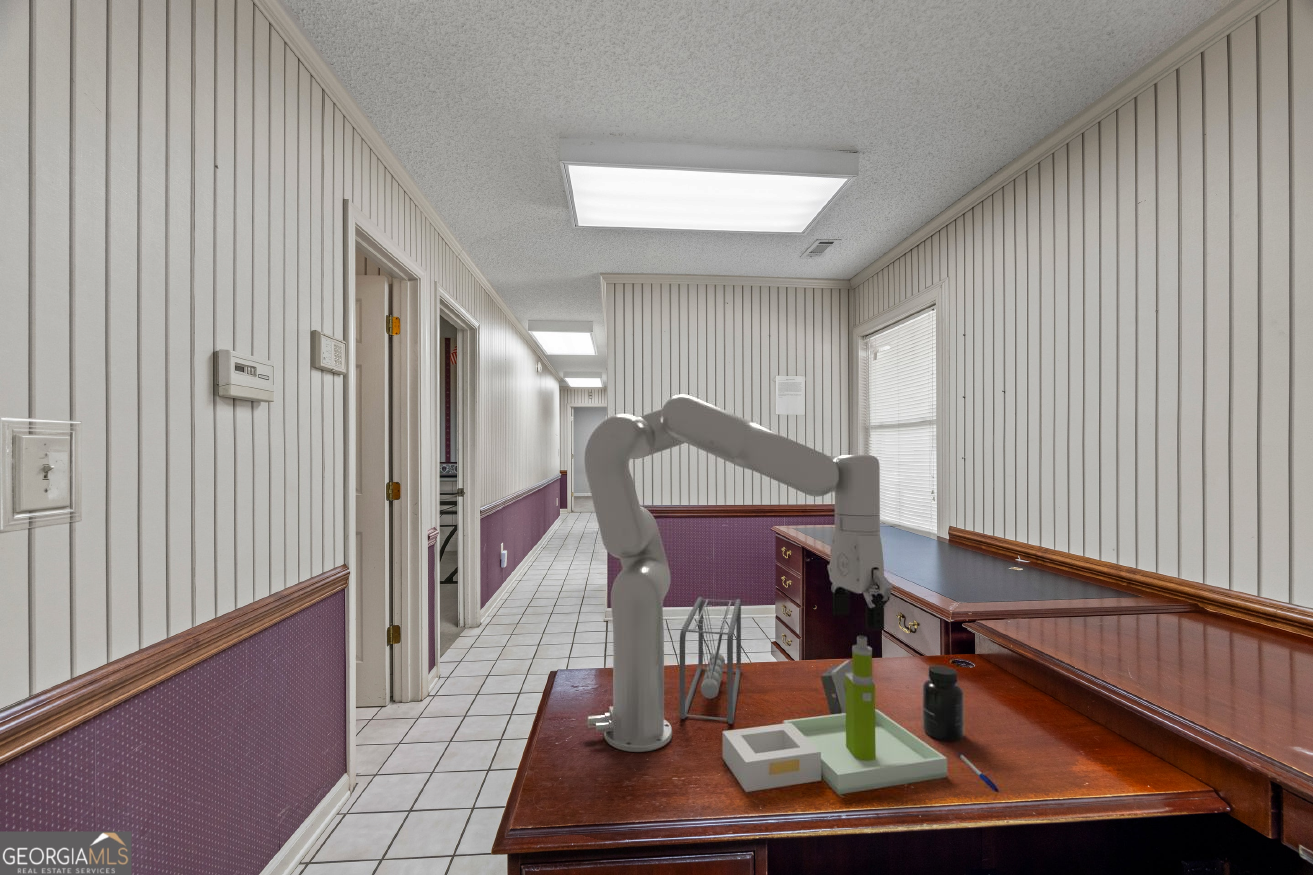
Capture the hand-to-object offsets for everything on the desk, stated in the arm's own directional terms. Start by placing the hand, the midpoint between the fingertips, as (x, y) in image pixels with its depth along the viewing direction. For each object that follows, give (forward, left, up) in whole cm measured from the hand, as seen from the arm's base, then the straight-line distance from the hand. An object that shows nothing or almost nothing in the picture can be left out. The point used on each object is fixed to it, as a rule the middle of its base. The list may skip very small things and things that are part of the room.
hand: (857, 621), depth 96 cm
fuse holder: (-17, 0, -23) cm, 29 cm away
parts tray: (0, 0, -23) cm, 23 cm away
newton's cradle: (-16, +30, -23) cm, 41 cm away
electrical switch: (+7, +16, -23) cm, 29 cm away
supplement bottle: (+20, +3, -23) cm, 31 cm away
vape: (0, -1, -22) cm, 22 cm away
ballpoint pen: (+16, -9, -24) cm, 30 cm away
